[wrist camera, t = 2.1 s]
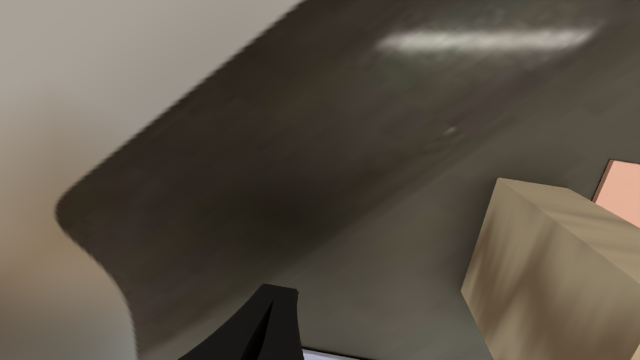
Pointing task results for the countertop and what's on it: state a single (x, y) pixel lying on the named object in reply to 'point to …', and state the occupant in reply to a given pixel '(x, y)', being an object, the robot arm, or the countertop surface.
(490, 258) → the maple block
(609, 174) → the mat
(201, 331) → the countertop surface
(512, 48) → the countertop surface
